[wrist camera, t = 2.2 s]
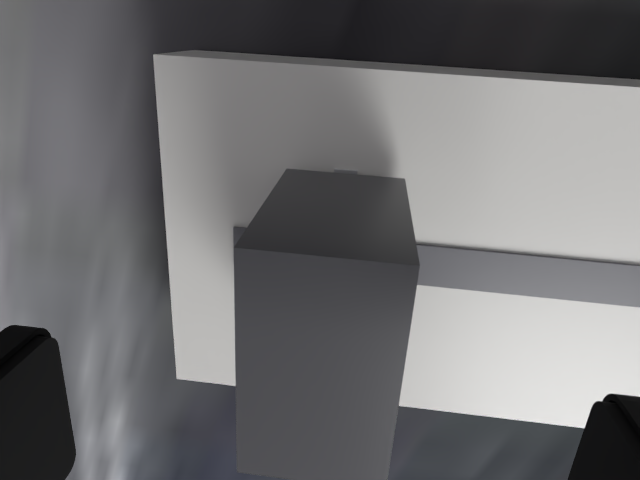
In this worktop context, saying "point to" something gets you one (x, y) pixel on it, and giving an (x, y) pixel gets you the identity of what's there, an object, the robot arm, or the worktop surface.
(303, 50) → the worktop surface
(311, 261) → the fader tab
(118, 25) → the worktop surface
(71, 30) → the worktop surface
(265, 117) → the console
